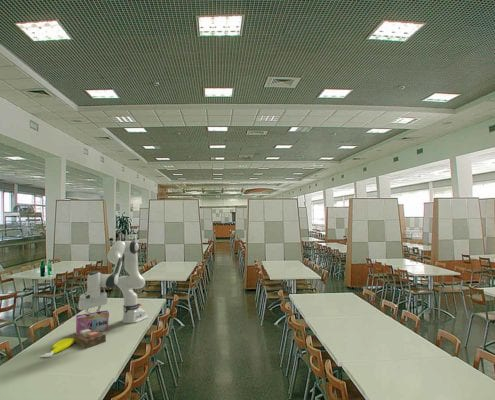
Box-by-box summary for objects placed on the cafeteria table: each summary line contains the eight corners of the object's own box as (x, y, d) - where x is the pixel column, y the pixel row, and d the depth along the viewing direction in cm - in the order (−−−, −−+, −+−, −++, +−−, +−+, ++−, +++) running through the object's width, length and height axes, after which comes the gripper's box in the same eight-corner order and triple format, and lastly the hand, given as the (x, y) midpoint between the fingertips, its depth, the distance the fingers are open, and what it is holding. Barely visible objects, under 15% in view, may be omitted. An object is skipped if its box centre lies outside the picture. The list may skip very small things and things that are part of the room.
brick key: (94, 337, 225) (94, 331, 225) (98, 338, 222) (98, 332, 222) (87, 339, 221) (87, 333, 221) (91, 340, 218) (91, 335, 218)
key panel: (91, 335, 235) (91, 329, 236) (105, 341, 224) (105, 334, 224) (72, 342, 224) (72, 335, 224) (86, 348, 213) (86, 340, 213)
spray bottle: (76, 341, 223) (54, 358, 198) (61, 342, 223) (37, 359, 199) (76, 337, 223) (54, 354, 198) (61, 338, 223) (37, 354, 199)
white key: (87, 334, 231) (87, 328, 231) (90, 335, 228) (90, 330, 228) (80, 336, 226) (80, 331, 226) (83, 337, 223) (83, 332, 224)
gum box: (108, 326, 256) (108, 310, 257) (110, 329, 249) (110, 312, 250) (75, 332, 242) (76, 315, 243) (76, 335, 236) (77, 317, 237)
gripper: (104, 290, 234) (104, 309, 233) (77, 296, 217) (76, 316, 216) (109, 291, 230) (109, 310, 229) (81, 297, 213) (81, 317, 212)
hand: (93, 313), depth 222 cm, fingers open, 6 cm apart
